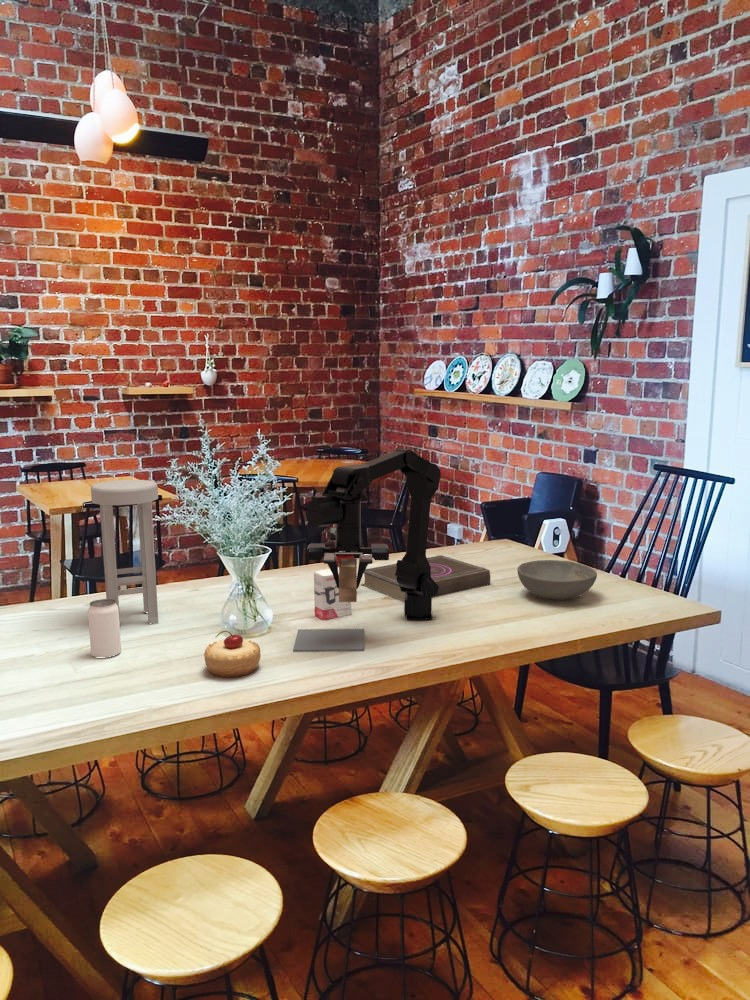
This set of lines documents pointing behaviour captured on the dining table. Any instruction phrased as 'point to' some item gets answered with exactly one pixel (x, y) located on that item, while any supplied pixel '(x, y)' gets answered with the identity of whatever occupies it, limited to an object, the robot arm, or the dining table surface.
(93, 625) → the can
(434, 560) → the book
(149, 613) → the stool
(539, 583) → the bowl
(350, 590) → the slab
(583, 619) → the dining table surface
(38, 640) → the dining table surface
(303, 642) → the mat
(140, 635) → the dining table surface
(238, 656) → the pastry
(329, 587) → the ink box
